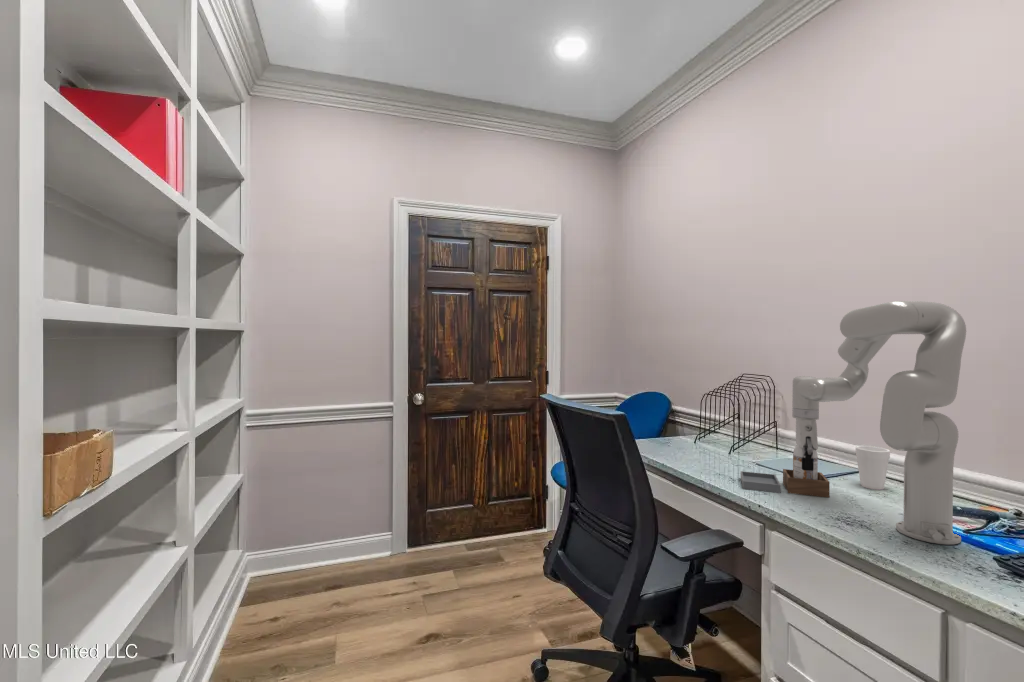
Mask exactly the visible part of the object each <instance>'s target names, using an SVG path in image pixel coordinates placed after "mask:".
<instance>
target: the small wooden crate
mask: <svg viewBox="0 0 1024 682" xmlns="http://www.w3.org/2000/svg"><path fill="white" fill-rule="evenodd" d="M830 483H831V482H830V481H829V480H828V479H827V477H826V476H825V475H824V474H823V472H820V471H818V480H811V479H800V478H793V469H788V468H782V484H783V487H784V488H785V490H786V491H787V494H792V495H793V494H794V495H802V496H811V497H820V498H830V495H831V494H830V491H831V490H830V487H831V486H830Z"/></svg>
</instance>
